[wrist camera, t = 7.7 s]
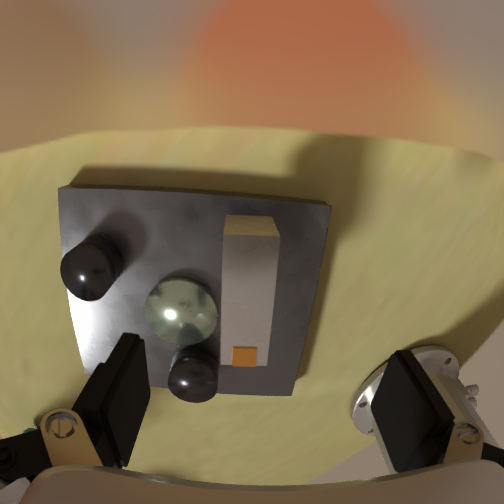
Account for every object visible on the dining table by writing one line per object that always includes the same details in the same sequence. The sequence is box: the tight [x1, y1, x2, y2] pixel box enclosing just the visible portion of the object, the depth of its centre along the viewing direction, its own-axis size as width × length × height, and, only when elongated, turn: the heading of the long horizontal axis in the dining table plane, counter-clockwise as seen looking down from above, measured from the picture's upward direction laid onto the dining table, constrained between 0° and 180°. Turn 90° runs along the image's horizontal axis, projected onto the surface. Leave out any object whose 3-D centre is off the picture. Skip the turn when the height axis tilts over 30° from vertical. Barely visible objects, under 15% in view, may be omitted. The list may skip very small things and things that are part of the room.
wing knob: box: [221, 215, 280, 367], centre depth 17 cm, size 7×2×6 cm, turn 176°
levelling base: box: [58, 185, 331, 403], centre depth 21 cm, size 18×16×4 cm
